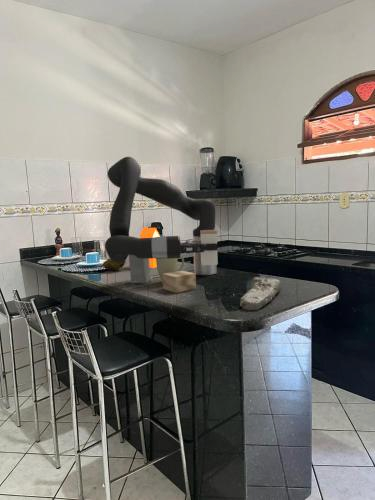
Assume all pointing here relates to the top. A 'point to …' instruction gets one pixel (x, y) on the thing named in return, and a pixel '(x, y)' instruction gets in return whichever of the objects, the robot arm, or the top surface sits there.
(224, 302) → the top surface
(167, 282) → the oak block
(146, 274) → the skincare box
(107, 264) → the potato
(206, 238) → the canister
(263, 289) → the long grey stone
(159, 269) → the mug
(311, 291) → the top surface
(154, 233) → the orange juice
